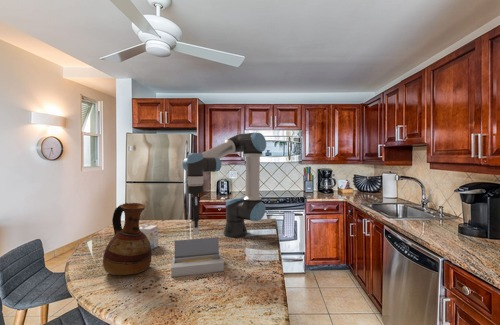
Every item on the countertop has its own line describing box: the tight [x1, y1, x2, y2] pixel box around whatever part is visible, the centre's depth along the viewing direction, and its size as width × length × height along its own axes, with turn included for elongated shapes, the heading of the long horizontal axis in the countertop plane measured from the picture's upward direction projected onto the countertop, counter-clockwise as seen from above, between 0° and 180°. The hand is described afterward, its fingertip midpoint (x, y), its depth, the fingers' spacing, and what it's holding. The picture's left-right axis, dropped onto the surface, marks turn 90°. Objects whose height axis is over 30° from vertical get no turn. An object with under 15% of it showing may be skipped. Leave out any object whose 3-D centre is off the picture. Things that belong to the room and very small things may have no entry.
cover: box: [174, 236, 220, 259], centre depth 125 cm, size 20×8×1 cm
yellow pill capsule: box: [181, 258, 213, 263], centre depth 122 cm, size 15×3×3 cm
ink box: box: [139, 222, 159, 251], centre depth 151 cm, size 9×8×13 cm
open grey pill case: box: [170, 251, 225, 278], centre depth 121 cm, size 22×14×4 cm, turn 103°
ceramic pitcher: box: [102, 202, 153, 276], centre depth 119 cm, size 20×20×30 cm
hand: (196, 233), depth 131 cm, fingers closed
